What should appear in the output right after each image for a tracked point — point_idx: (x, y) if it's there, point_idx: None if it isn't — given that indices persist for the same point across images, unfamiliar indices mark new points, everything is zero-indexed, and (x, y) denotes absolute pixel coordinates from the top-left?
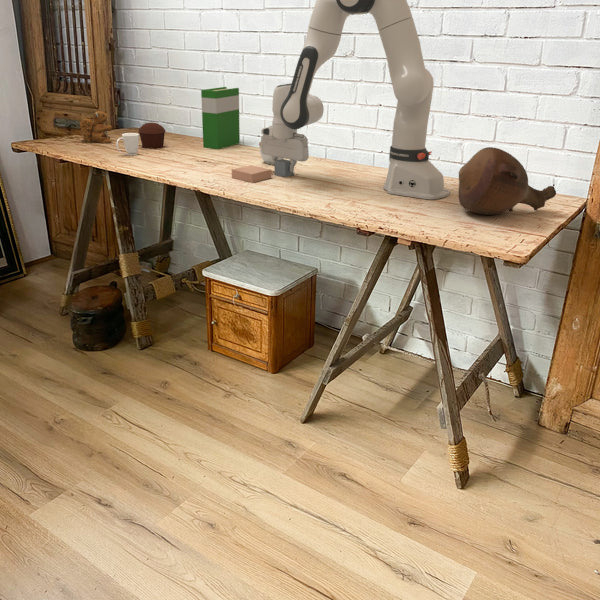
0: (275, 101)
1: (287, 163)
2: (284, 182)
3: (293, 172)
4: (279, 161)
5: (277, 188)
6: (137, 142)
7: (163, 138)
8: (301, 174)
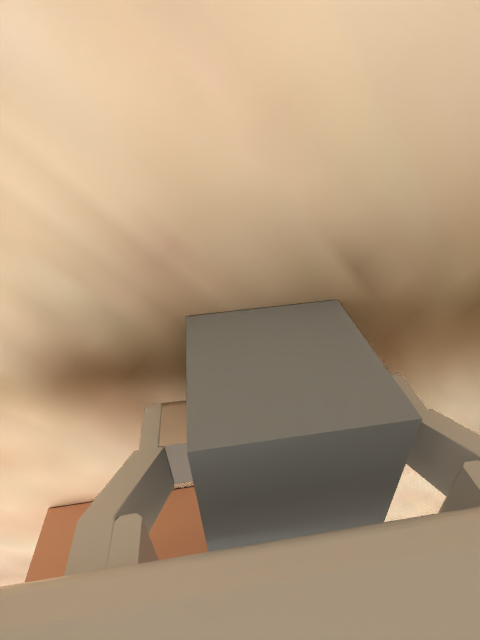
0: None
1: (383, 497)
2: (407, 472)
3: (346, 317)
4: (267, 537)
5: None
6: None
7: None
8: (399, 217)
